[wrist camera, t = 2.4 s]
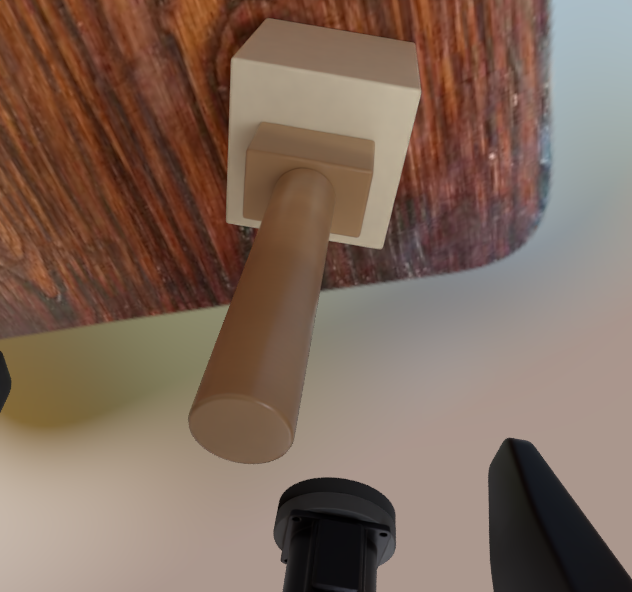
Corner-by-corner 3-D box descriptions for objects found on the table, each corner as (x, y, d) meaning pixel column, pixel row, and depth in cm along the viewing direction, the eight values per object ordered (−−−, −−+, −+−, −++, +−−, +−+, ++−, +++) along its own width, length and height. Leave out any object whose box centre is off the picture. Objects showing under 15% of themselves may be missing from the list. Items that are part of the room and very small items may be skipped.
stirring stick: (362, 204, 16) (336, 489, 9) (256, 186, 16) (138, 455, 9) (376, 139, 15) (359, 407, 7) (260, 120, 15) (127, 367, 7)
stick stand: (384, 180, 21) (382, 251, 17) (256, 158, 21) (225, 223, 17) (415, 42, 18) (422, 90, 14) (265, 16, 18) (229, 57, 14)
